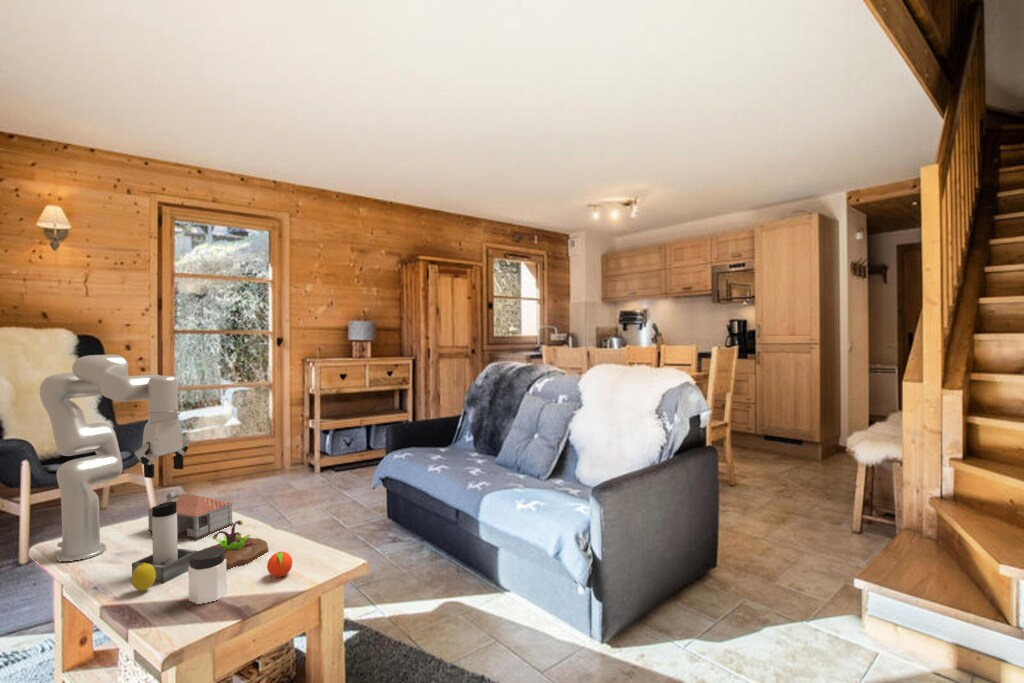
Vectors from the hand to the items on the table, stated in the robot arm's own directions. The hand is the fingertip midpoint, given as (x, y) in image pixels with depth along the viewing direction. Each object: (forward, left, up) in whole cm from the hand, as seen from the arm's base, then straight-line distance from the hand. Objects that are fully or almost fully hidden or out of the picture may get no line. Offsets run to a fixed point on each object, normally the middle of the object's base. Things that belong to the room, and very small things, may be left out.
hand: (164, 473), depth 156 cm
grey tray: (0, 0, -30) cm, 30 cm away
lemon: (+5, -11, -30) cm, 33 cm away
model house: (-22, +29, -31) cm, 48 cm away
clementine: (+36, +6, -30) cm, 48 cm away
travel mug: (0, 0, -29) cm, 29 cm away
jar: (+25, -9, -30) cm, 40 cm away
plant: (+11, +15, -31) cm, 36 cm away
